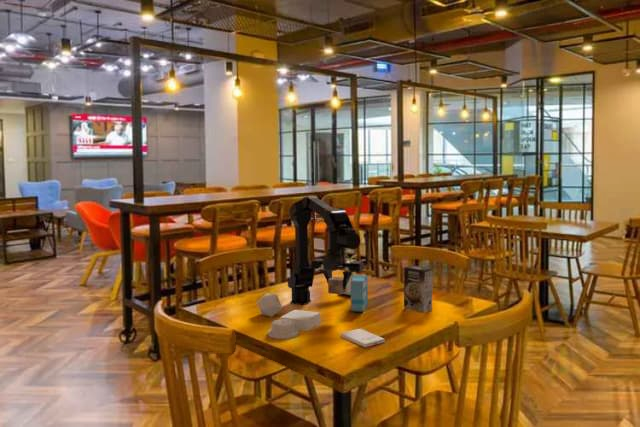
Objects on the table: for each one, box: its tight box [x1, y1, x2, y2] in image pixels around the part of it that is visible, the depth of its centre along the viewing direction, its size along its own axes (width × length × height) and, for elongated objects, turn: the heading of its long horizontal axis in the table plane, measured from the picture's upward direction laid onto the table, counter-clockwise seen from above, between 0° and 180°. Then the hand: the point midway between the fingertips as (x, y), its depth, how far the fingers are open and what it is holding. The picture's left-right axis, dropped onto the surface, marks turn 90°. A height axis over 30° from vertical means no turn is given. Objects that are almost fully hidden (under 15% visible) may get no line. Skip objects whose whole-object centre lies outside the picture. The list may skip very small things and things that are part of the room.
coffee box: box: [403, 264, 434, 314], centre depth 207 cm, size 9×6×16 cm
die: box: [256, 292, 283, 318], centre depth 202 cm, size 8×9×10 cm
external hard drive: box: [340, 328, 386, 348], centre depth 175 cm, size 2×8×12 cm
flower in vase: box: [342, 248, 359, 296], centre depth 231 cm, size 13×11×25 cm
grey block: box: [280, 309, 321, 332], centre depth 190 cm, size 10×10×4 cm
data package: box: [350, 274, 369, 313], centre depth 209 cm, size 12×4×12 cm, turn 166°
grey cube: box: [327, 276, 346, 295], centre depth 196 cm, size 5×5×5 cm
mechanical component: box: [267, 318, 300, 340], centre depth 180 cm, size 10×4×10 cm
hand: (337, 288), depth 196 cm, fingers closed on grey cube, 5 cm apart
